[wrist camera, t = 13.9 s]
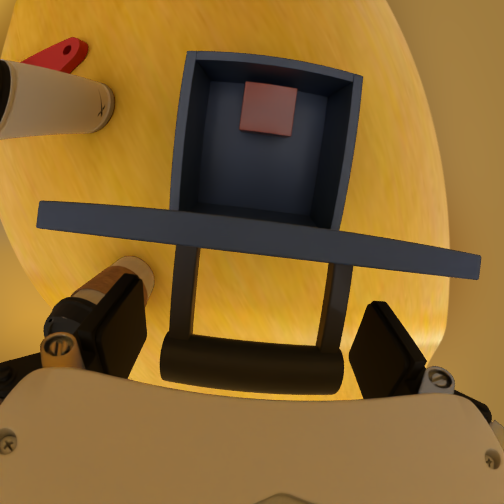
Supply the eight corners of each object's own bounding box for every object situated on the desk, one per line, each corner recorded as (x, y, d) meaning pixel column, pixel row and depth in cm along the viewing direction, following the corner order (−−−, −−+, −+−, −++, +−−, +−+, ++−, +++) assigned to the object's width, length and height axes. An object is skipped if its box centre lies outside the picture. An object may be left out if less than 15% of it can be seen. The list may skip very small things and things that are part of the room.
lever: (5, 139, 26) (-26, 144, 20) (-1, 89, 22) (-30, 88, 16) (93, 75, 24) (62, 65, 18) (84, 21, 21) (57, 6, 14)
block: (246, 90, 25) (245, 81, 21) (291, 96, 25) (297, 88, 21) (241, 132, 26) (238, 129, 22) (285, 138, 27) (291, 136, 22)
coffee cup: (139, 234, 31) (71, 298, 17) (176, 291, 34) (137, 378, 20) (94, 262, 33) (27, 327, 19) (129, 313, 36) (82, 391, 22)
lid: (39, 200, 6) (41, 379, 6) (482, 255, 7) (443, 412, 7) (167, 227, 22) (160, 297, 22) (336, 247, 22) (327, 315, 22)
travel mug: (126, 105, 26) (-12, 85, 7) (88, 143, 27) (-51, 168, 9) (102, 71, 24) (-26, 35, 5) (66, 109, 25) (-65, 111, 7)
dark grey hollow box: (205, 75, 25) (187, 50, 17) (333, 93, 25) (363, 76, 17) (191, 207, 30) (168, 230, 22) (313, 222, 31) (334, 250, 23)
